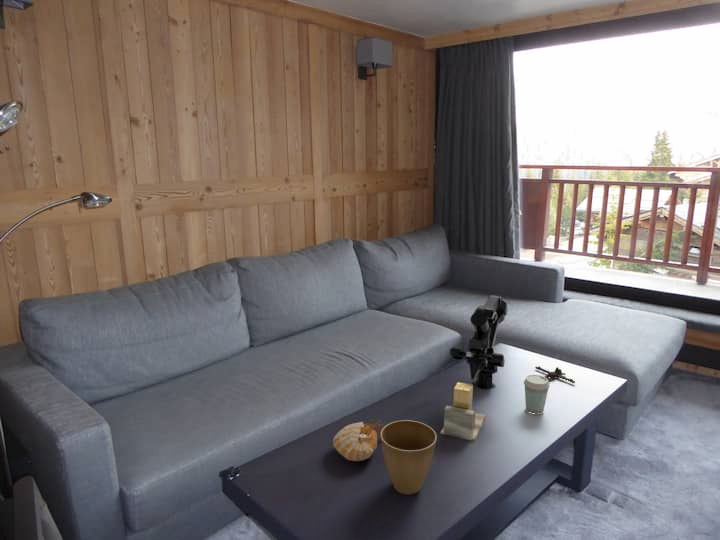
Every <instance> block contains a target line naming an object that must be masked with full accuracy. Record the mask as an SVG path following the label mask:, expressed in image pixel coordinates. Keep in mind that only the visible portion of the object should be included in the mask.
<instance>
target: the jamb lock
mask: <svg viewBox="0 0 720 540" xmlns="http://www.w3.org/2000/svg"><path fill="white" fill-rule="evenodd" d="M443 418H444V419H443V427H442V428H441V430H440V434H441V435H444V436H445V435H446V436H450V437H454V438H459V439H462V440H465V441H466V440H467V441H471V442H475V441H476V439H477V436H478V435H479V432H480V431H481V427H482V425H483V423H484V421H485V419H484V418H486V414H482V413H476V412H475V410H472V411H471V410H466V409H461V408H456V407H453V406H450V405H446V406H445V408H444V416H443Z"/></svg>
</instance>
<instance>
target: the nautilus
mask: <svg viewBox="0 0 720 540" xmlns="http://www.w3.org/2000/svg"><path fill="white" fill-rule="evenodd" d="M381 421H382V420H381V419H380V420H379V421H378V422H376V423H372V422H374V420H372V421H371V423H370V424H369V422H368V423H365V424H364V421H360V422H355V423H350V424H347V425H346V426H344V427H343V428H342V429H340V430H339V431H338V432H337V433H336V434H335V435H334V437H333V440H332V444H333V448H335V450H336V451H337V452H338V453H339V454H340V455H341V456H342V457H343V458H345V459H346V460H347V461H352V462H361V461H365V460H366V459H369V458H370V457H371V456H372V455H373V454H374V452H375V451H376V449H377V445H378V442H379V439H380V437H379V434H380V433H381V431H382V429H383V428H384V427H385V426H384V425H383V424H382V423H380V422H381ZM377 426H378V428H376V427H377ZM381 427H382V428H381ZM377 430H378V431H377Z"/></svg>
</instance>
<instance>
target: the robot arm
mask: <svg viewBox="0 0 720 540" xmlns="http://www.w3.org/2000/svg"><path fill="white" fill-rule="evenodd" d="M507 314H508V303H507V302H506V301H504V300H503V299H502V296H500V295H493V294H490V295H488V297H487V299H486V300H485V303H484V304H483V305H479V306H477V307H476V309H474V311H473V313H472V314H471V316H470V319H469V320H470V323H471V326H472V330H473V334H472V337H471V338H469V339H468V342H467V344H468V345H467V348H468V349H467V350H468V351H463V348H462V347H458V346H452V347H451V348H450V349H449V355H450V358H451V359H452V360H456V361H462V360H463V359H465V362H466V364H467V365H469V370H470V371H469V372H470V379H471V380H473V381H472V384H473V385H475V384H476V385H477V387H478V388H479V389H480V388H481V390H484V388H485V389H488V388H489V387H490V388H494V386H495V387H496V384H494V383H493V378H494V377H493V375H495V373H498V367H499V368H504V367H505V362H506V361H505V355H504V354H502V353H497V352H495V351H494V346H495V341H496V337H497V334H498V329H499V325H500V324H501V323H502V322H504V321H505V318H506V316H508V315H507ZM476 385H475V386H476Z"/></svg>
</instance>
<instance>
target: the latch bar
mask: <svg viewBox="0 0 720 540" xmlns="http://www.w3.org/2000/svg"><path fill="white" fill-rule="evenodd" d="M473 390H474V384H473V383H472V384H471V383H465V382H459V381H458V382H457V383H456V384H455V386H454V388H453V401H452V402H453V403H452V404H453V405H452V407H456V408H461V409H466V410H471V411H473V396H474V395H473V394H474V393H473V392H474V391H473Z"/></svg>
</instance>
